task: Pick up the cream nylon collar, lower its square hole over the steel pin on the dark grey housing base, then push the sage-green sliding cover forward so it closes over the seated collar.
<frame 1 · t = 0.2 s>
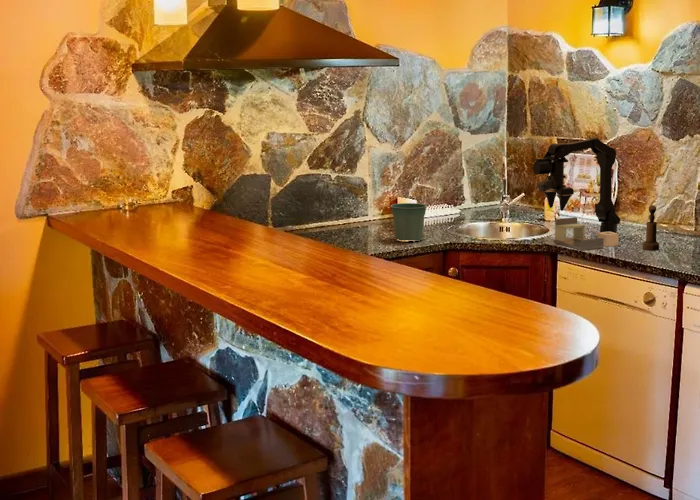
hand: (556, 209, 354), 14 cm above the counter, fingers open, 9 cm apart
cover: (569, 229, 353), point 6 cm above the counter, slide at 12.0 cm
collar: (607, 244, 347), on the counter
flower pot: (409, 241, 370), on the counter
brown pedestal figurine: (650, 249, 336), on the counter
housing base: (577, 245, 348), on the counter
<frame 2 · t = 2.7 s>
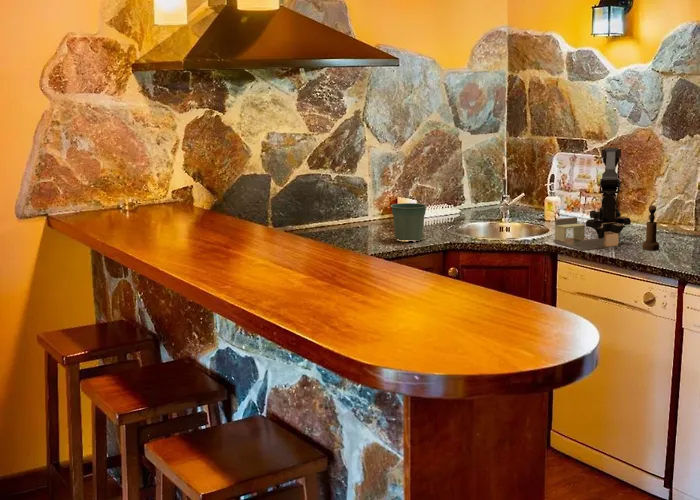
hand: (607, 242, 347), 1 cm above the counter, fingers closed on collar, 6 cm apart
collar: (607, 244, 347), on the counter, touching gripper
everything else where it was.
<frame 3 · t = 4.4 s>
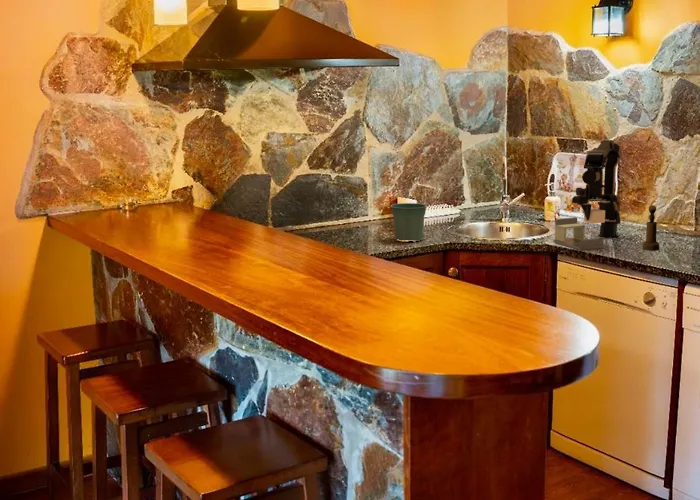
hand: (594, 219, 341), 12 cm above the counter, fingers closed on collar, 6 cm apart
collar: (594, 222, 341), point 11 cm above the counter, touching gripper
everything else where it was.
when the fingers open (3 cm above the counter, at t = 6.2 s): collar stays where it is, resting on housing base.
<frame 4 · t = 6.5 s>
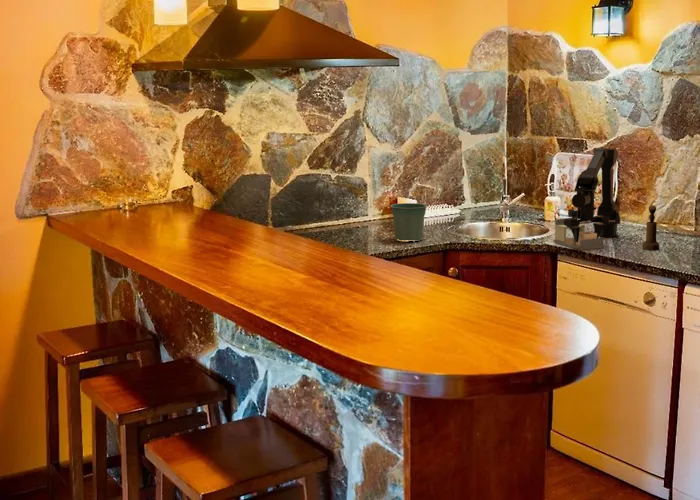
hand: (586, 241, 342), 3 cm above the counter, fingers open, 9 cm apart
collar: (586, 244, 342), point 1 cm above the counter, touching housing base
everything else where it was.
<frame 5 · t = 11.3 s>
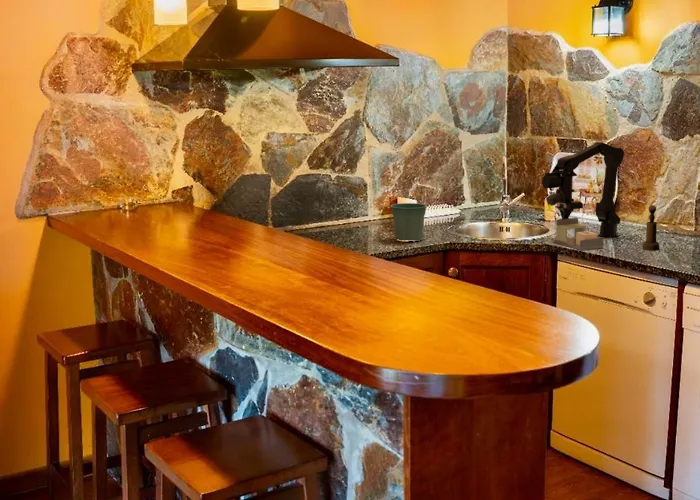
hand: (564, 222, 356), 8 cm above the counter, fingers closed
cover: (570, 229, 352), point 6 cm above the counter, slide at 11.2 cm, touching gripper
everything else where it was.
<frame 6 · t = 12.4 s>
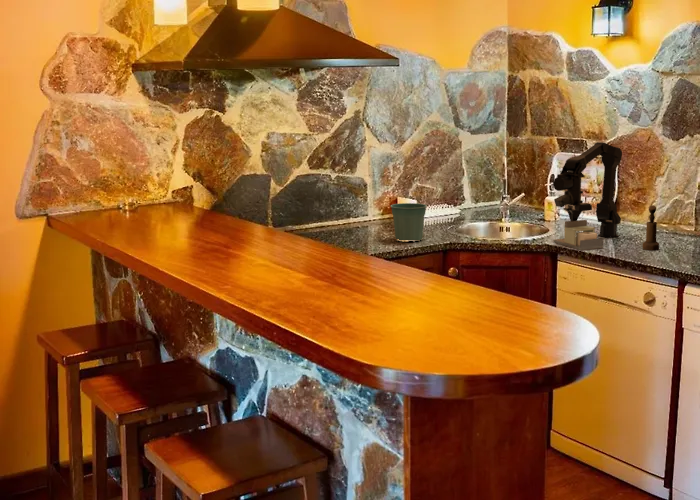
hand: (573, 224, 350), 8 cm above the counter, fingers closed
cover: (579, 232, 346), point 6 cm above the counter, slide at 4.8 cm, touching gripper
everything else where it was.
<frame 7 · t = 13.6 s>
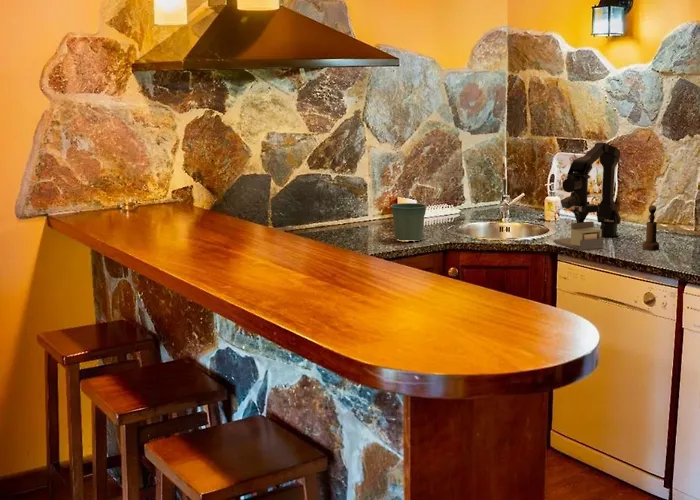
hand: (579, 226, 345), 8 cm above the counter, fingers closed
cover: (586, 233, 341), point 6 cm above the counter, slide at 0.0 cm, touching gripper
everything else where it was.
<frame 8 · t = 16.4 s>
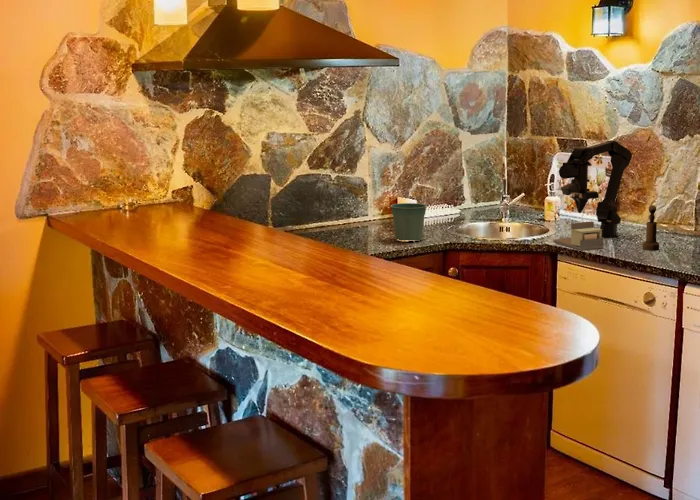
hand: (579, 212, 354), 12 cm above the counter, fingers closed
cover: (586, 233, 341), point 6 cm above the counter, slide at 0.0 cm
everything else where it was.
at the end: collar 0.1 cm from the target spot on the housing base, point 1.2 cm above the housing base's base; collar tilted 0°; cover slide at 0.0 cm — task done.
